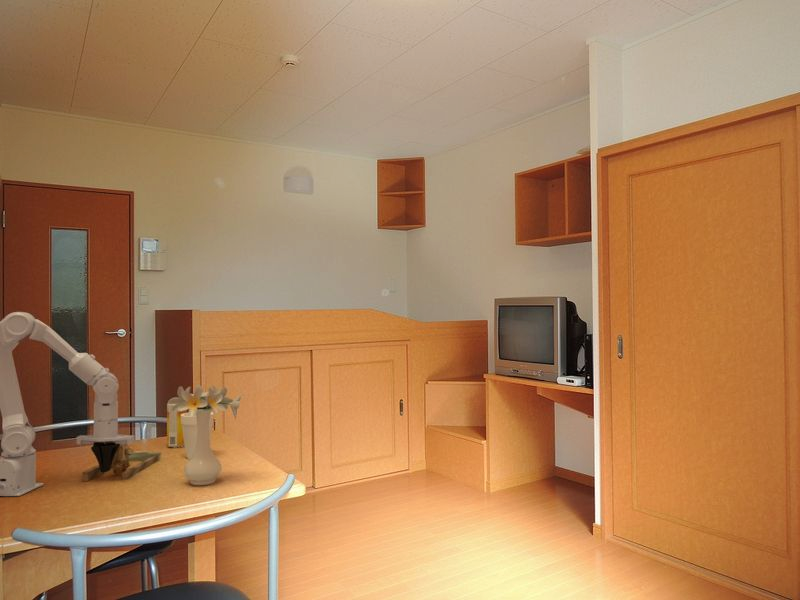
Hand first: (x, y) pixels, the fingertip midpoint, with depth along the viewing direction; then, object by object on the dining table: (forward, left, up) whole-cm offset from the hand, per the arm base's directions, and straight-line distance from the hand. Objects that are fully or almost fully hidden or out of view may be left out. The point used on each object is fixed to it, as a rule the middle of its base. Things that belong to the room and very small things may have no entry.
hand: (105, 471), depth 154 cm
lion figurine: (+8, 0, -2) cm, 9 cm away
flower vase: (-1, -27, -2) cm, 27 cm away
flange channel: (+10, 0, -2) cm, 10 cm away
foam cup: (+25, -15, -2) cm, 29 cm away
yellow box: (+39, -3, -2) cm, 39 cm away
